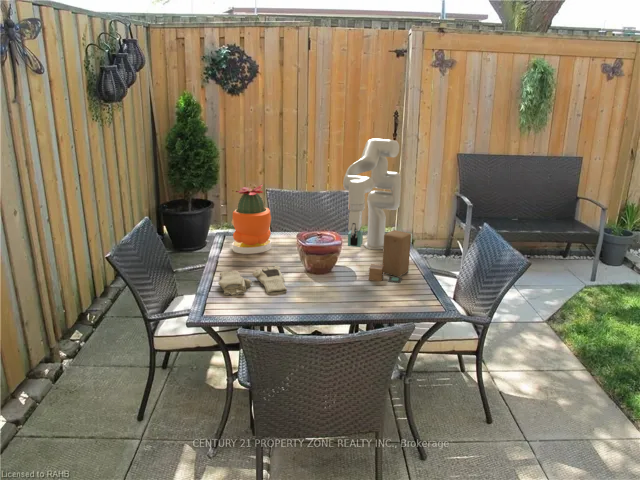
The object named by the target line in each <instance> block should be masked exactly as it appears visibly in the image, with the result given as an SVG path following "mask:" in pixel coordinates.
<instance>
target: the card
mask: <svg viewBox="0 0 640 480" xmlns="http://www.w3.org/2000/svg"><path fill="white" fill-rule="evenodd" d="M402 279H403V277H401V276H400V277H397V276H392V275H391V276H388V280H387V282H388V283H394V284H395V283H396V284H401V283H402Z"/></svg>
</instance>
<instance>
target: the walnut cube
mask: <svg viewBox="0 0 640 480" xmlns="http://www.w3.org/2000/svg"><path fill="white" fill-rule="evenodd" d="M383 270H384V265H382V264H379V263H378V264H376V263H370V266H369V268H368V280H369V281H377V282H382V280H383V278H384V273H383Z"/></svg>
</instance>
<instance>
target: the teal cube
mask: <svg viewBox="0 0 640 480" xmlns="http://www.w3.org/2000/svg"><path fill="white" fill-rule="evenodd" d="M355 231H356V230H355ZM355 234H356V232H355ZM357 237H358V241H357V246H354V245H350V243H351V231H348V234H347V246H348V247H354V248H361V247H362V245H363V242H364V241H363V240H364V238H363V237H364V231H363V230H360V231H358V232H357Z"/></svg>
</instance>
